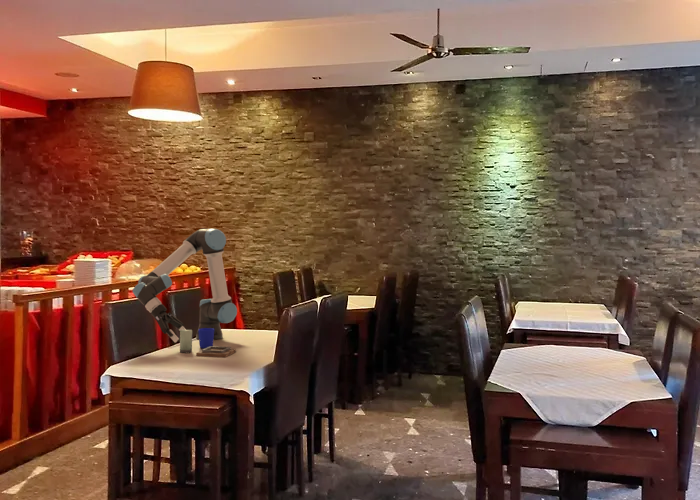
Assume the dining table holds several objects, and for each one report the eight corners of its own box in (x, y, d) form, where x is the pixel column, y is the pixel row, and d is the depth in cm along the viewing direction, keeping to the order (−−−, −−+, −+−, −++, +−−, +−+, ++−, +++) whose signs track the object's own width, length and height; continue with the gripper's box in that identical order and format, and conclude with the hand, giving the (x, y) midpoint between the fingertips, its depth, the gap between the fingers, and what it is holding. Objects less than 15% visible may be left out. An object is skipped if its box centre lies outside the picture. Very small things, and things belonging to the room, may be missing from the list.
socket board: (208, 350, 316) (208, 345, 316) (235, 352, 314) (235, 346, 314) (196, 355, 301) (196, 350, 301) (225, 357, 299) (225, 351, 299)
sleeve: (182, 350, 315) (183, 329, 315) (193, 351, 314) (194, 329, 314) (177, 352, 309) (178, 331, 309) (188, 353, 308) (189, 331, 308)
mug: (218, 345, 332) (218, 327, 332) (211, 349, 320) (211, 330, 320) (203, 345, 333) (203, 326, 333) (196, 348, 321) (196, 330, 321)
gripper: (162, 310, 326) (188, 340, 324) (139, 315, 302) (166, 347, 299) (172, 301, 325) (198, 330, 323) (149, 305, 301) (177, 337, 298)
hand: (183, 338), depth 311 cm, fingers open, 13 cm apart
